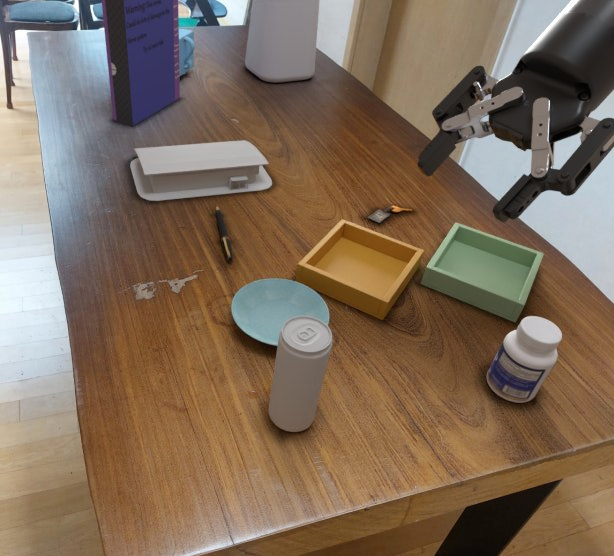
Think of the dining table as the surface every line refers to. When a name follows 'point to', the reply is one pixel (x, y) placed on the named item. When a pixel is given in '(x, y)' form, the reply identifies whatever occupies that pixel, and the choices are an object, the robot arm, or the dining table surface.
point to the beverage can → (299, 372)
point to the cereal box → (141, 56)
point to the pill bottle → (524, 359)
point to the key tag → (385, 213)
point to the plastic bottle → (282, 39)
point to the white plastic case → (199, 170)
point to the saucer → (274, 307)
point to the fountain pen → (224, 236)
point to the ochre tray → (360, 268)
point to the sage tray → (483, 271)
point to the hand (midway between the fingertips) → (458, 192)
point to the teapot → (186, 50)
